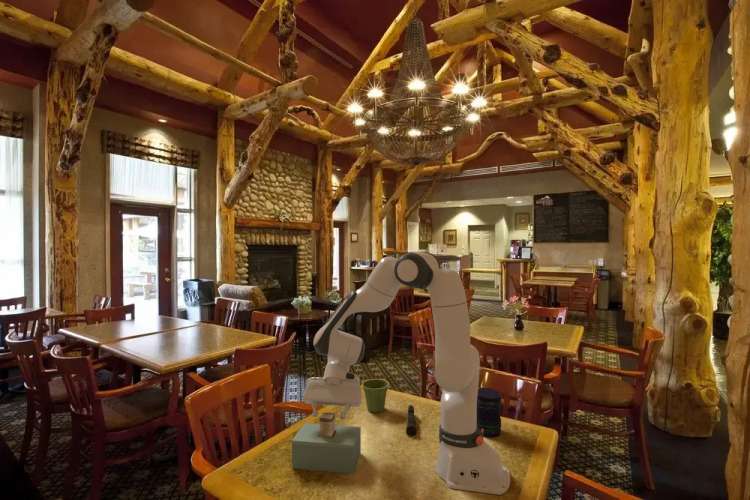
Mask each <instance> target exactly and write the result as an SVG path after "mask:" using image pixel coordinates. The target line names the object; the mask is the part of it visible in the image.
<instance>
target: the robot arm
mask: <svg viewBox="0 0 750 500" xmlns="http://www.w3.org/2000/svg"><path fill="white" fill-rule="evenodd" d="M402 285H403V286H405V287H409V288H414V289H419V290H425V289H426V290H427V291H428V294H429V297H430V305H431V312H432V317H433V325H434V333H435V334H434V337H435V338H434V340H435V343H434V349H435V351H434V352H435V353H434V356H435V359H434V360H435V368H434V379H435V382H436V383H437V385H438V386H439V387H440V389H442V393H441V397H440V424H439V426H438V427H439V428H438V440H439V450H438V457H437V461H436V464H435V469H434V470H435V472H436V474H437V476H438V477H439V478H441V479H442V480H443V481H444V482H445V483H446V484H447V486H448V487H449V488H450V489H455V490H462V491H469V492H476V493H484V494H491V495H492V494H493V495H503V494H505V493H507V491H508V490H509V488H510V486H511V474H510V471H509V469H508V468H507V467H506V466H504V465H503V463H502V459H501V456H500V453H499V452H498V451H497V450H496V449H494V448H493V447H492V446H490V445H489V443H488V442H486V441H485V440H484V437H483V428H482V431H481V430H480V429H479V428H478V427H477V395H478V388H479V382H480V366H481V365H480V364H481V363H480V361H481V358H480V354H479V351H478V349H477V347H475V346H474V345H473V344H471V328H472V327H471V322H470V321H471V320H470V316H469V315H470V313H469V307H468V301H467V295H466V292H465V287H464V284H463V282H462V278H461V276H460V274H459V272H457V271H456V270H455V269H451V268H442V266H441V262H440V260H439V259H438V257H437V256H436V255H434V254H433V253H431V252H428V251H427V252H426V251H424V252H423V251H411V252H407V253H404V254H403V255H401V256H400V257H398V258H397V257H393V256H385V257H383V258H381V259H380V261H378V263H377V264H376V265H375V267H374V268H373V270H372V271H371V273H370V275H369V276H368V278H367V280H366V282H365V283H364V284H363V285H362V286H361V287H360V288H358V289H356V290H351V291H350V292H349V293H348V294H347V295H345V297H344V299H343V300H342V301H341V302H340V304H339V305H338V306H337V307H336V309H335V310H334V312H333V313H332V314H331V315H330V317H329V318H328V319H327V320H326V321H325V322H324V324H323V325H322V326H321V327H319V330H317V332H316V333H315V335H314V338H313V341H312V342H313V343H312V345H313V347H314V350H315V351H316V353H317V354H318V355H321V356H323V357H324V356H325V357H327V364H326V365H325V369H324V373H323V376H322V377H320V376H319V377H316V376H312V377H310V378H309V379H307V380H306V383H305V389H304V392H303V395H302V399H303V402H304V403H305V404H307V405H311V408H312V410H313V411H312V417H313V418H318V417H319V411H318V409H316V408H317V407H318V406H319V405H321V406H334V407H335V406H337V407H345V409H343V411H340V413H339V414H340V415H339V419H340V420H345V419H346V415H347V414H348V412H349V411H350V410H351V409H350V408H351V407H354V408H358V407H360V405H361V404H362V389H361V381H360V377H359V375H358V374H356V373H353V372H350V367H351V366H354V365H356V364H359V363H360V362H362V361H363V359H364V356H365V351H366V345H365V341H364V339H363V338H361V337H359V336H357V335H354V334H351V333H348V332H345V331H342V330H339V328H340V327H341V326H342V325H343V323H344V322H345V321H346V319H347V318H348V317H349V316H350V315H352V314H355V313H364V312H365V313H377V312H381V311H384V310H386V309H387V308H389V307H390V305H391V304H392V302H393V301H394V299H395V298H396V296H397V294H398V293H399V290H400V288H401V286H402Z"/></svg>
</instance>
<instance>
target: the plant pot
mask: <svg viewBox="0 0 750 500" xmlns="http://www.w3.org/2000/svg"><path fill="white" fill-rule="evenodd" d="M389 386H390V382H389V381H387V380H386V379H382V378H381V379H380V378H372V379H367V380H364V381H363V382H362V383H361V387H362V388H363V392H364V396H365V403H366V407H367V408H366V409H367V411H368V412H370V413H371V412H372V413H375V414H377V413H381V412H383V411H385V405H386V399H387V392H388V387H389Z"/></svg>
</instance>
